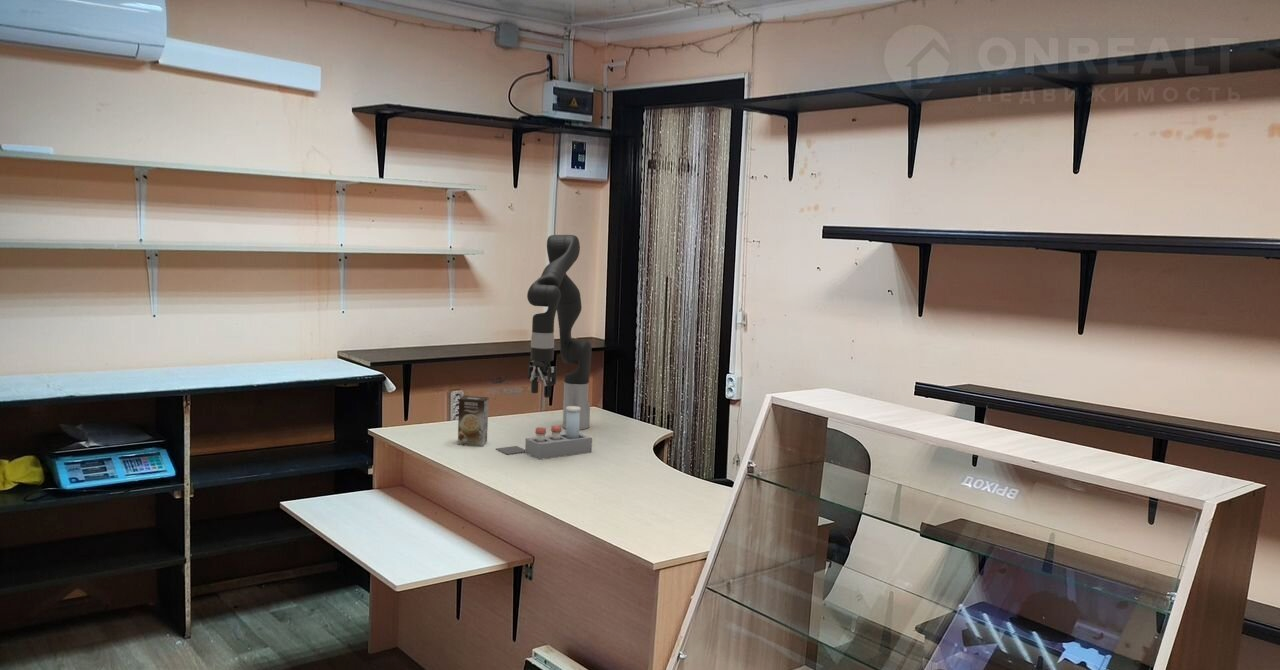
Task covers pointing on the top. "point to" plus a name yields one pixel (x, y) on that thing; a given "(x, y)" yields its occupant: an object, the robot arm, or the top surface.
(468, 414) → the coffee box
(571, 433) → the cartridge
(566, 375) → the robot arm
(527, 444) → the housing
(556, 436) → the plunger
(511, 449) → the mat
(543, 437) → the plunger
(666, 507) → the top surface
